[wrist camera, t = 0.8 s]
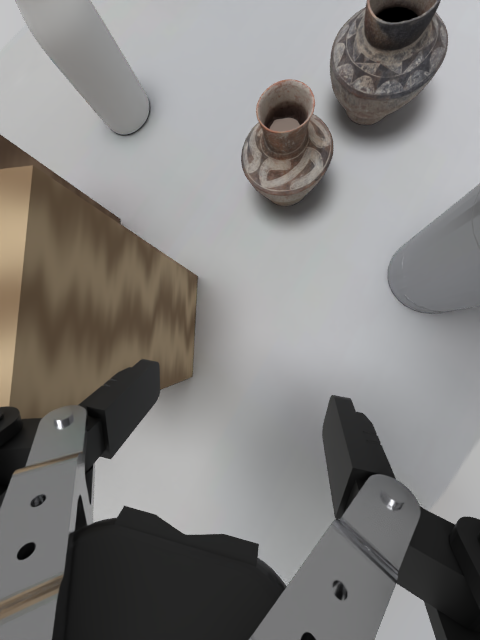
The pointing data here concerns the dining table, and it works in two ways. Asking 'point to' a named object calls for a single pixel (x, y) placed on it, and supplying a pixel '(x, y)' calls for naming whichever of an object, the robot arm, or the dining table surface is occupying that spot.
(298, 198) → the pottery
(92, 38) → the milk bottle
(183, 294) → the lower block
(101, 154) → the dining table surface
